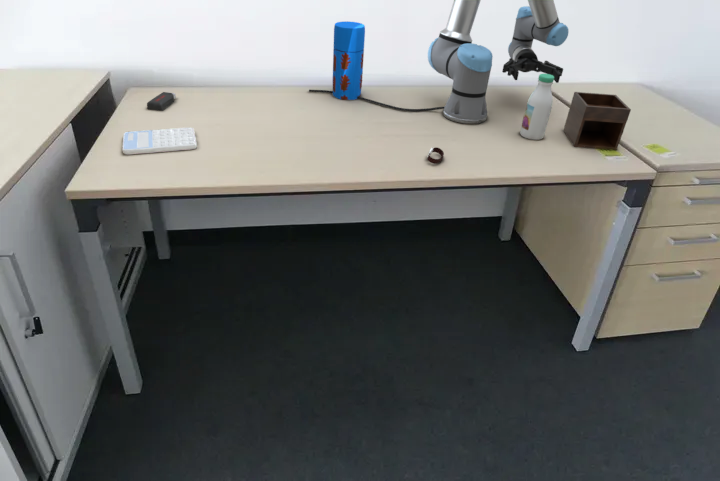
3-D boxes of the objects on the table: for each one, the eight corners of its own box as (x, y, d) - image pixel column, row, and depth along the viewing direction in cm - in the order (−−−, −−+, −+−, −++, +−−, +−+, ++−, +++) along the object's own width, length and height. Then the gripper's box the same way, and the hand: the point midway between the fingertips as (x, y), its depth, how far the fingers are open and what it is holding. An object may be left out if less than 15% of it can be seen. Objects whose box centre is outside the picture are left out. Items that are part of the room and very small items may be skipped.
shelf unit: (574, 146, 170) (586, 106, 163) (563, 130, 182) (574, 91, 174) (616, 150, 170) (631, 109, 162) (603, 133, 181) (616, 94, 174)
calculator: (197, 149, 153) (196, 143, 152) (122, 155, 147) (121, 149, 146) (194, 131, 164) (193, 125, 162) (124, 136, 158) (123, 130, 157)
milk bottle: (545, 134, 178) (561, 74, 167) (541, 142, 172) (558, 80, 161) (522, 129, 180) (536, 70, 169) (517, 137, 174) (532, 76, 163)
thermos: (357, 101, 194) (361, 29, 180) (329, 98, 195) (331, 26, 181) (363, 92, 203) (367, 23, 188) (336, 88, 204) (338, 20, 190)
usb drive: (147, 109, 176) (146, 101, 175) (164, 97, 186) (163, 89, 185) (162, 111, 176) (160, 103, 174) (178, 99, 186) (177, 91, 184)
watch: (430, 153, 160) (432, 142, 158) (445, 156, 159) (447, 145, 157) (423, 163, 154) (424, 151, 152) (439, 166, 153) (440, 155, 151)
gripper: (557, 71, 194) (572, 90, 177) (488, 67, 195) (497, 86, 177) (562, 50, 190) (578, 68, 173) (492, 46, 191) (501, 63, 173)
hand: (537, 77), depth 175 cm, fingers open, 13 cm apart
